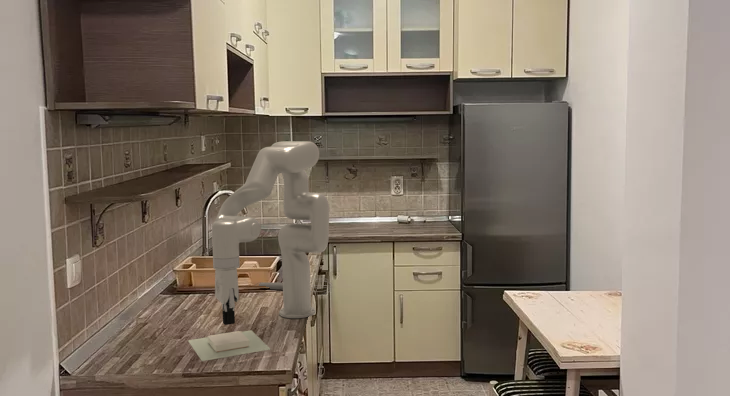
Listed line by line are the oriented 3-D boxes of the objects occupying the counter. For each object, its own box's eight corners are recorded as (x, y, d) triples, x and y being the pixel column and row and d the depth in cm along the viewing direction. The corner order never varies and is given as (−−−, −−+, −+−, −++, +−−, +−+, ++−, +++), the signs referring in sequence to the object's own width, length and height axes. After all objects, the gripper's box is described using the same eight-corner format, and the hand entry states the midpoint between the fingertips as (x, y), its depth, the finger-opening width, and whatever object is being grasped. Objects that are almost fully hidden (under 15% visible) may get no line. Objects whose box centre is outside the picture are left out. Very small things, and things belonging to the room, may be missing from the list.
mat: (187, 342, 201) (187, 340, 201) (251, 332, 209) (251, 330, 209) (202, 363, 183) (201, 361, 183) (270, 351, 192) (270, 349, 191)
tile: (207, 335, 198) (215, 345, 189) (240, 330, 202) (249, 340, 193) (207, 342, 198) (215, 352, 189) (240, 337, 203) (249, 347, 194)
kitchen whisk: (259, 286, 269) (258, 271, 268) (335, 293, 257) (334, 277, 256) (251, 290, 263) (251, 275, 262) (328, 297, 251) (328, 281, 250)
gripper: (207, 259, 196) (210, 318, 199) (219, 268, 183) (222, 332, 185) (232, 256, 200) (234, 315, 202) (246, 266, 186) (248, 328, 188)
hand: (228, 323), depth 193 cm, fingers closed
